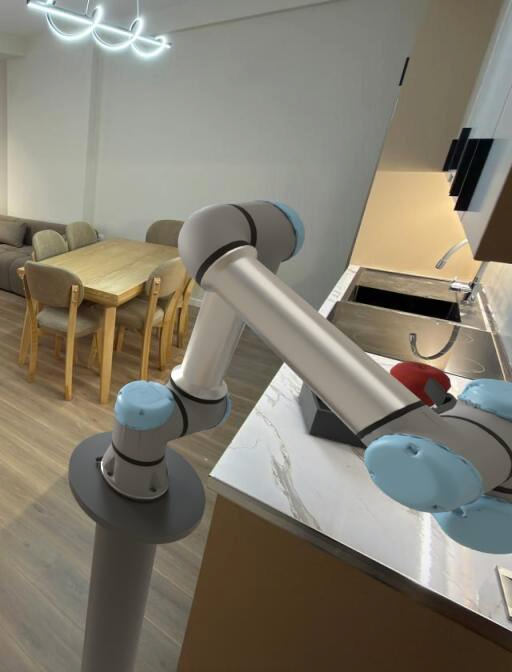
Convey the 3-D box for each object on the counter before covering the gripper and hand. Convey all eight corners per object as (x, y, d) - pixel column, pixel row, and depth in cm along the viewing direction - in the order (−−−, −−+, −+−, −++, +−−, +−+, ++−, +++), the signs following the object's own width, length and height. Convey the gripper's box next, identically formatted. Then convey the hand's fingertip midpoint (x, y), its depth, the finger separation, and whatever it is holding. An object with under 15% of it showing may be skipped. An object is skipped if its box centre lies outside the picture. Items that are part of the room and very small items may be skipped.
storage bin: (309, 434, 103) (317, 409, 100) (298, 397, 117) (305, 375, 114) (398, 457, 95) (410, 431, 92) (375, 415, 109) (384, 391, 106)
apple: (442, 406, 113) (461, 366, 108) (434, 422, 106) (453, 380, 102) (386, 386, 122) (401, 348, 117) (375, 400, 115) (391, 361, 111)
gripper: (316, 439, 64) (296, 375, 82) (544, 499, 53) (464, 410, 71) (329, 401, 62) (305, 343, 79) (571, 456, 51) (481, 374, 68)
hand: (380, 374), depth 75 cm, fingers open, 13 cm apart
